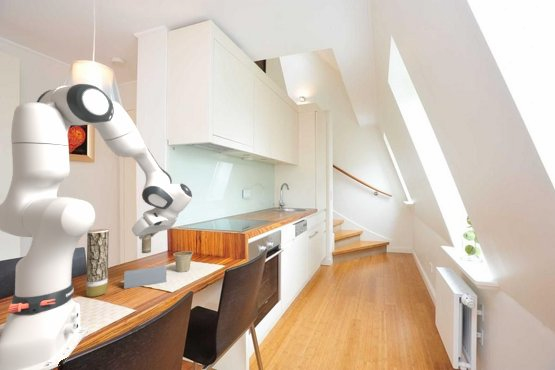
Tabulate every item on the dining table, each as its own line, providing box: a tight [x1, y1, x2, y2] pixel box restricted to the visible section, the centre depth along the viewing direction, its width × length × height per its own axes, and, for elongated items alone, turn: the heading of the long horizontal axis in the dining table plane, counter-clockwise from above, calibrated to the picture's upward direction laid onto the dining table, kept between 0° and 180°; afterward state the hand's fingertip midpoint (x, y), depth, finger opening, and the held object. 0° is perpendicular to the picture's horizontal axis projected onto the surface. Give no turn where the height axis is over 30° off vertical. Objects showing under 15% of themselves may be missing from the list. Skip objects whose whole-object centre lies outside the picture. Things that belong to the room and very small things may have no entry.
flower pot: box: [172, 250, 194, 273], centre depth 126 cm, size 9×9×9 cm
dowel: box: [141, 233, 152, 254], centre depth 109 cm, size 4×4×12 cm
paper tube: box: [86, 228, 110, 298], centre depth 98 cm, size 7×7×25 cm
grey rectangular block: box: [123, 265, 167, 290], centre depth 108 cm, size 16×4×6 cm, turn 119°
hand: (145, 237), depth 109 cm, fingers closed on dowel, 4 cm apart
